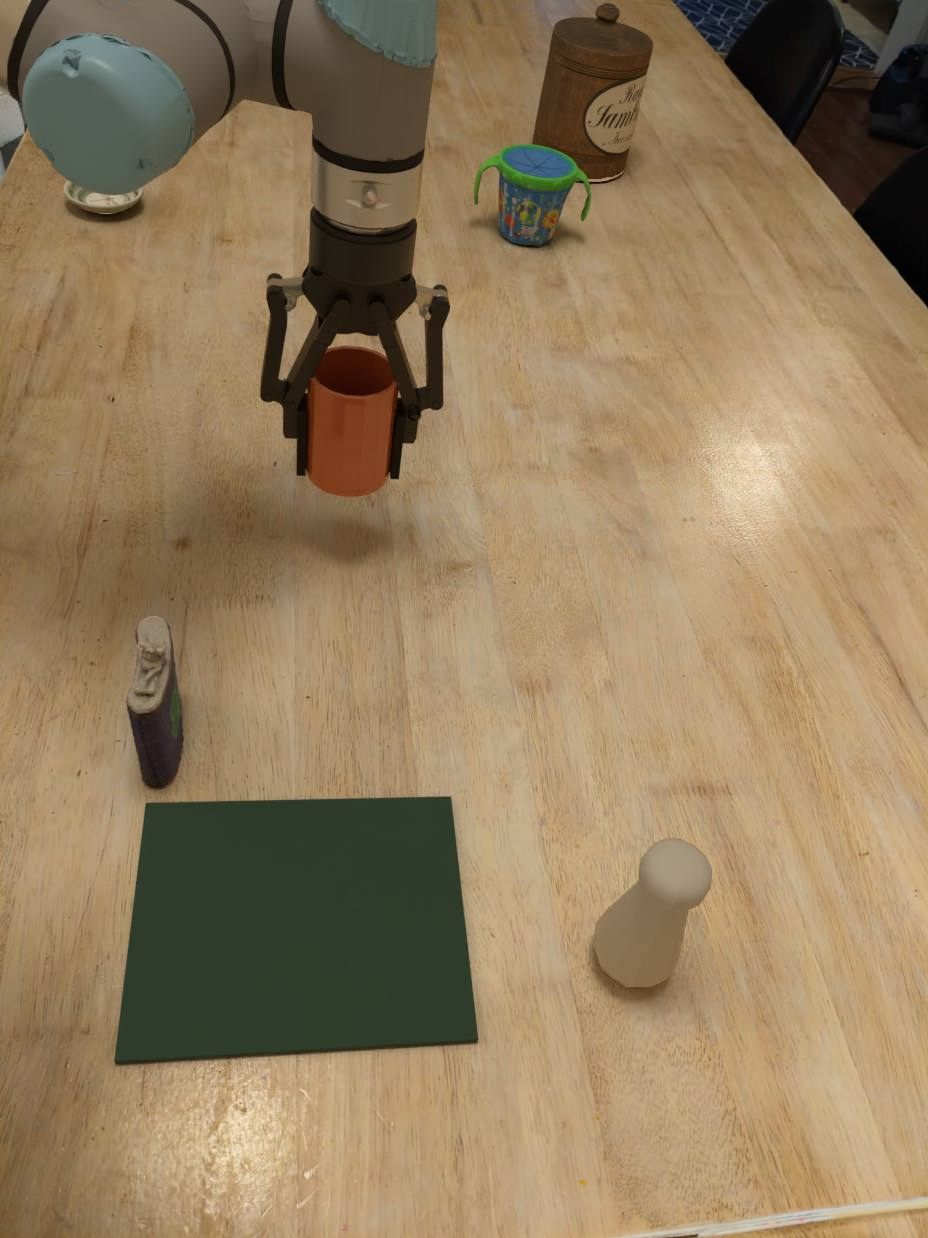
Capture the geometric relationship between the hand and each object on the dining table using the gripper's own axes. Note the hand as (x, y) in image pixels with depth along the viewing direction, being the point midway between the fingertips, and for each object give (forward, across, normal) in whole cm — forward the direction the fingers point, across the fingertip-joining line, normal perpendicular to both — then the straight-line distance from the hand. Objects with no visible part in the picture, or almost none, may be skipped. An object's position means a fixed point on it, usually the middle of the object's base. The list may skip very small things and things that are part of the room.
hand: (347, 467), depth 88 cm
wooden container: (+9, +38, +87) cm, 95 cm away
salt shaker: (+9, +18, -41) cm, 46 cm away
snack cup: (+9, +26, +62) cm, 68 cm away
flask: (+9, -14, -22) cm, 28 cm away
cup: (0, 0, 0) cm, 0 cm away
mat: (+9, -4, -37) cm, 38 cm away
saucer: (+9, -29, +62) cm, 69 cm away
